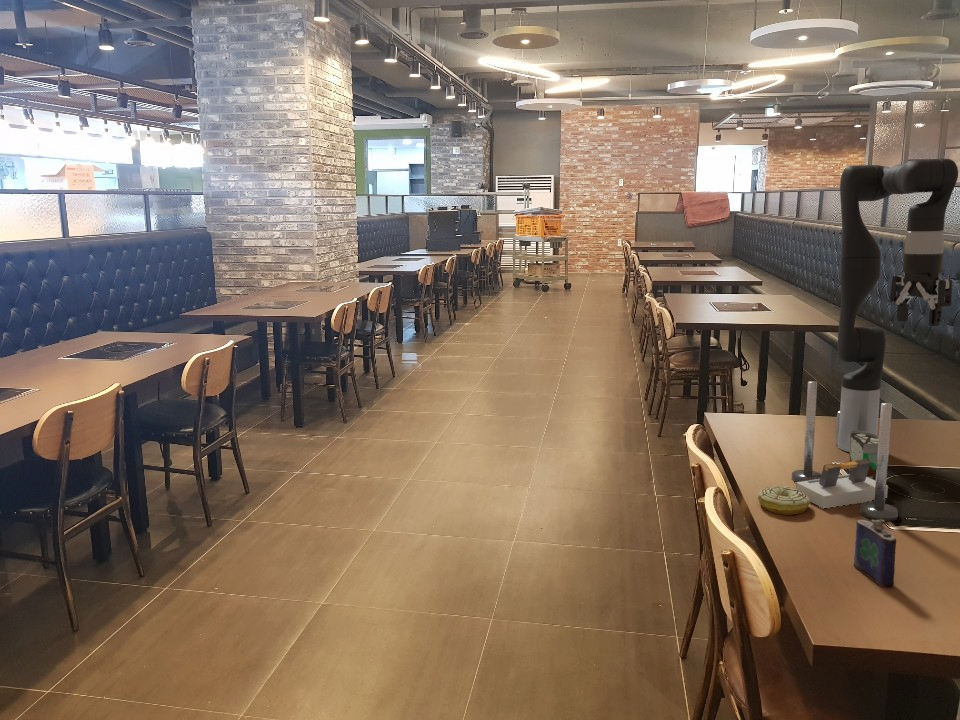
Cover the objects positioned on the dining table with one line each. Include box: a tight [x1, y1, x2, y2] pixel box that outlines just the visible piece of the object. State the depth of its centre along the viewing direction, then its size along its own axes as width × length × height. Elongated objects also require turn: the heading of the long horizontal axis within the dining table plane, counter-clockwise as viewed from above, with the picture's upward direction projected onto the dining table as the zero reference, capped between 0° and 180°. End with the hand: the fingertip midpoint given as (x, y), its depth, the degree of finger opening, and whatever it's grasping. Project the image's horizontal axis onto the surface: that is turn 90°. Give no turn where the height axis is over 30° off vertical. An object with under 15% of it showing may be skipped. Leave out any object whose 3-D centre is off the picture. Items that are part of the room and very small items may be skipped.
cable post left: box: [791, 380, 822, 483], centre depth 175 cm, size 7×7×24 cm
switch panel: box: [795, 473, 889, 510], centre depth 167 cm, size 9×17×3 cm, turn 106°
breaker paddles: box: [819, 459, 871, 488], centre depth 165 cm, size 2×11×5 cm, turn 106°
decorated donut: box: [757, 485, 811, 516], centre depth 163 cm, size 10×11×4 cm
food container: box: [848, 430, 879, 481], centre depth 178 cm, size 12×6×10 cm, turn 168°
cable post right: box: [859, 402, 899, 523], centre depth 155 cm, size 7×7×24 cm
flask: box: [853, 519, 897, 590], centre depth 131 cm, size 9×3×11 cm, turn 8°
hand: (917, 323), depth 167 cm, fingers open, 8 cm apart
